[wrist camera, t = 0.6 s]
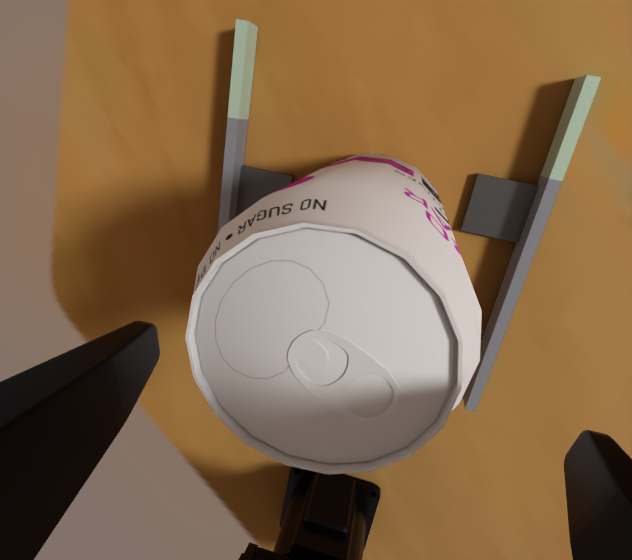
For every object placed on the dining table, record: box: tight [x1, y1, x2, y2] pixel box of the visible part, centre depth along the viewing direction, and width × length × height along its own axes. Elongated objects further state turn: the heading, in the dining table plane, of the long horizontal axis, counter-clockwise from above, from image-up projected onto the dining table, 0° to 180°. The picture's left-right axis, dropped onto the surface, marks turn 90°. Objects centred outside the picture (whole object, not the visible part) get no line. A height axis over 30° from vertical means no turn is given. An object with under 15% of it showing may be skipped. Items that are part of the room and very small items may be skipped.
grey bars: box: [217, 19, 601, 411], centre depth 24 cm, size 18×17×2 cm
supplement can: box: [185, 153, 482, 474], centre depth 18 cm, size 8×8×15 cm
